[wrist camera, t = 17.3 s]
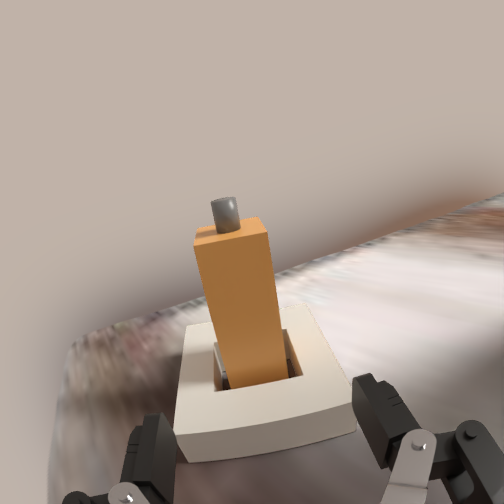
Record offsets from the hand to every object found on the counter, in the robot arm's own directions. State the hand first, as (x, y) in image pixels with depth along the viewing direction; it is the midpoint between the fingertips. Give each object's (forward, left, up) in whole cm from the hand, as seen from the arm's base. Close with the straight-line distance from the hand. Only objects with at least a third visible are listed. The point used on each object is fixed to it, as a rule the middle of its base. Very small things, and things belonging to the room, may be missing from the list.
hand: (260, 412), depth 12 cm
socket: (-8, -8, -9) cm, 14 cm away
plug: (-8, -8, -9) cm, 14 cm away
